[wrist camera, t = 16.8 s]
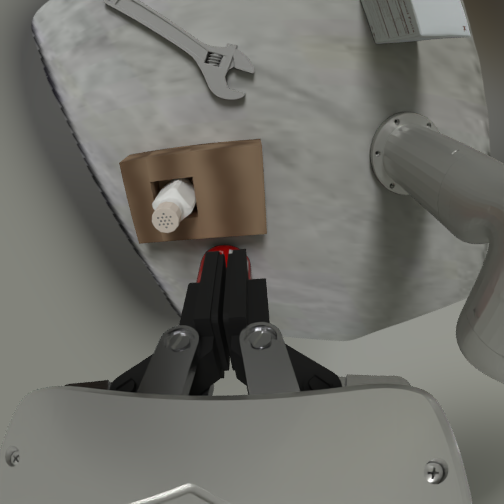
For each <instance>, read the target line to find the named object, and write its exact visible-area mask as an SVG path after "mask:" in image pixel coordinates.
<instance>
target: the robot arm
mask: <svg viewBox="0 0 504 504" xmlns="http://www.w3.org/2000/svg"><path fill="white" fill-rule="evenodd" d="M395 120H396V121H395ZM394 121H395V122H394ZM376 151H377V153H376V154H375V152H376ZM370 156H371V164H372V168H373V171H374V173H375V175H376V177H377V178H378V180H379V181H380V182H381V183H382V184H383V185H384V186H385V187H386V188H387V189H388V190H390V191H392V192H394V193H396V194H401V195H411V196H412V197H413V198H414V199H415V200H417V201H418V202H419V203H420V204H421V205H422V206H423V207H424V208H425V209H427V210H428V211H429V212H430V213H431V214H432V215H433V216H434V217H435V218H436V219H437V220H438V221H439V222H440V223H441V224H442V225H443V226H445V227H446V228H447V229H448V230H449V231H450V232H451V233H452V234H453V235H454V236H455V237H457V238H458V239H460V240H462V241H464V242H467V243H470V244H486V243H489V248H488V251H487V254H486V257H485V259H484V262H483V266H482V268H481V270H480V273H479V275H478V277H477V279H476V282H475V284H474V286H473V288H472V290H471V292H470V294H469V296H468V298H467V301H466V303H465V305H464V307H463V309H462V311H461V313H460V316H459V319H458V322H457V326H456V338H457V343H458V345H459V348H460V350H461V352H462V354H463V355H464V356H465V358H466V359H467V360H468V361H469V362H470V363H471V364H472V365H473V366H474V367H475V368H476V369H478V370H479V371H481V372H482V373H484V374H485V375H487V376H489V377H491V378H493V379H495V380H497V381H499V382H501V383H503V384H504V164H503V163H501V162H499V161H497V160H496V159H494V158H492V157H490V156H488V155H486V154H484V153H482V152H480V151H478V150H476V149H474V148H472V147H470V146H468V145H465V144H463V143H461V142H459V141H457V140H454V139H452V138H450V137H448V136H445V135H443V134H441V133H440V132H439V130H438V129H437V127H436V126H435V125H434V123H433V122H432V121H430V120H429V119H428V118H426V117H424V116H422V115H420V114H417V113H412V112H402V113H398V114H395V115H393V116H391V117H390V118H388V119H387V120H386V121H384V122H383V123H382V124H381V126H380V127H379V128H378V130H377V131H376V134H375V136H374V138H373V141H372V145H371V153H370ZM230 358H231V363H232V368H233V370H235V372H236V377H237V379H238V380H240V381H241V382H242V383H244V384H245V385H246V386H247V391H248V395H238V396H237V395H236V396H212V395H213V391H214V385H213V384H214V383H215V382H216V381H218V380H219V379H220V378H224V371H227V370H229V364H230V363H229V362H230ZM0 504H472V498H471V493H470V489H469V485H468V481H467V477H466V473H465V469H464V465H463V461H462V457H461V454H460V451H459V448H458V445H457V442H456V439H455V436H454V433H453V430H452V428H451V426H450V423H449V421H448V419H447V417H446V415H445V413H444V411H443V409H442V407H441V406H440V404H439V403H438V402H437V400H436V399H435V398H434V397H433V396H432V395H431V394H430V393H428V392H426V391H424V390H422V389H419V388H416V387H412V386H411V385H410V384H409V382H407V380H405V379H404V378H402V377H398V376H369V375H347V376H346V377H338V376H337V375H336V374H335V373H333V372H332V371H330V370H328V369H327V368H325V367H323V366H321V365H320V364H318V363H316V362H315V361H313V360H311V359H310V358H308V357H306V356H304V355H303V354H301V353H299V352H298V351H296V350H294V349H293V348H291V347H290V346H288V345H286V344H285V343H284V340H283V337H282V334H281V332H280V330H279V328H277V327H276V326H275V325H273V324H271V323H270V322H269V310H268V299H267V287H266V278H265V279H250V280H249V276H248V266H247V255H246V249H239V250H233V253H230V254H228V259H227V268H226V261H225V255H224V254H220V252H219V251H210V252H206V254H205V259H204V264H203V269H202V274H201V279H200V282H198V283H189V285H188V289H187V293H186V298H185V302H184V306H183V311H182V315H181V320H180V325H178V326H174V327H172V328H170V329H168V330H167V331H165V332H164V333H163V335H162V336H161V338H160V340H159V342H158V345H157V347H156V349H155V351H154V353H153V354H152V355H151V356H149V357H148V358H146V359H145V360H143V361H142V362H140V363H139V364H137V365H136V366H134V367H133V368H131V369H130V370H128V371H126V372H125V373H123V374H122V375H120V376H119V377H117V378H116V379H115V380H114V381H113V382H109V380H104V381H95V382H85V383H73V384H68V385H65V386H53V387H46V388H41V389H37V390H34V391H32V392H30V393H28V394H27V395H26V396H25V397H24V398H23V399H22V400H21V402H20V403H19V405H18V406H17V408H16V410H15V412H14V414H13V416H12V419H11V421H10V423H9V426H8V429H7V431H6V434H5V437H4V440H3V442H2V446H1V449H0Z"/></svg>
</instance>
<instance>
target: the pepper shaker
mask: <svg viewBox="0 0 504 504" xmlns="http://www.w3.org/2000/svg"><path fill="white" fill-rule="evenodd" d="M195 203H196V197H195V191H194V186H193V184H192V183H191V182H190V181H189V179H188V178H187V177H186V178H178V179H173V180H171V181H170V182H169V183H167V184H166V185H165V186H164V187H163V188H162V190H161V191H160V192H159V194H158V195H157V197H156V198H155V200H154V201H153V203H152V206H153V209H154V210H155V211H154V213H153V214H152V223H153V225H154V227H155V228H156V229H157V230H159V231H160V232H164V233H170V232H173V231H175V229H176V228H177V227H178V226H179V223H180V221H181V220H183V219H184V218H186V217H187V216H188V215H189V214H191V212H192V211H193V208H194V206H195Z"/></svg>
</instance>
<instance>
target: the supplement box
mask: <svg viewBox="0 0 504 504" xmlns="http://www.w3.org/2000/svg"><path fill="white" fill-rule="evenodd" d="M361 2H362V5H363V8H364V11H365V14H366V16H367V19H368V22H369V25H370V28H371V31H372V35H373V38H374V41H375V43H376V44H383V43H399V42H412V41H421V40H430V39H443V38H461V37H471V36H470V32H469V27H468V24H467V20H466V17H465V14H464V11H463V8H462V5H461V2H460V0H361Z"/></svg>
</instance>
